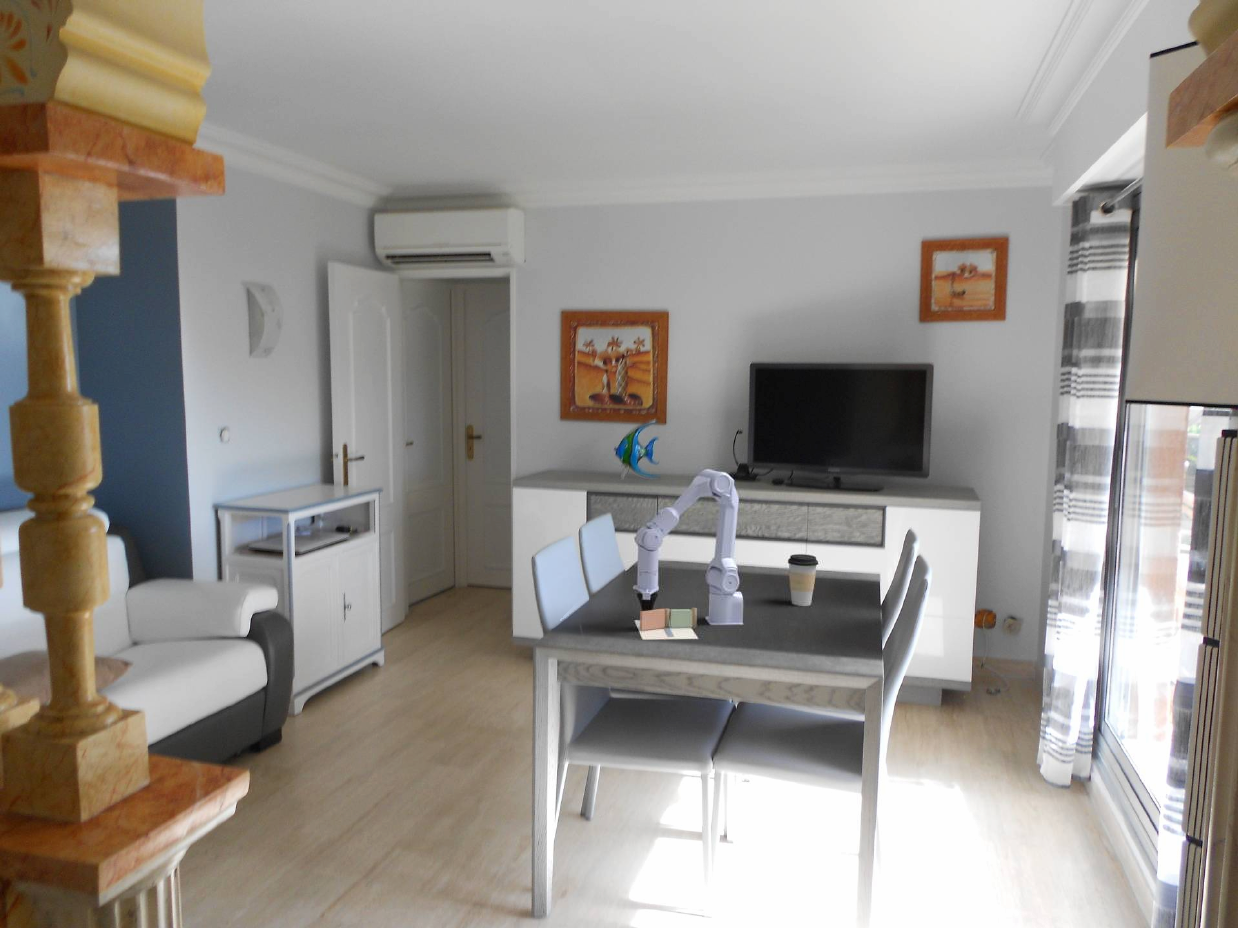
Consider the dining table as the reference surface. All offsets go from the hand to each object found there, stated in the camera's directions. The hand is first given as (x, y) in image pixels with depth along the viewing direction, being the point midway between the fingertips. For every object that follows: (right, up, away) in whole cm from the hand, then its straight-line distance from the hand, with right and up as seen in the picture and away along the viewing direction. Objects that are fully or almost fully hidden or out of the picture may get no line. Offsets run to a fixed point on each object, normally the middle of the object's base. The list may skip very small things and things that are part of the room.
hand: (647, 618), depth 245 cm
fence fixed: (+10, -3, +1) cm, 11 cm away
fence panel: (+2, -2, -1) cm, 3 cm away
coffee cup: (+50, -1, +31) cm, 59 cm away
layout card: (+5, -3, -1) cm, 6 cm away
